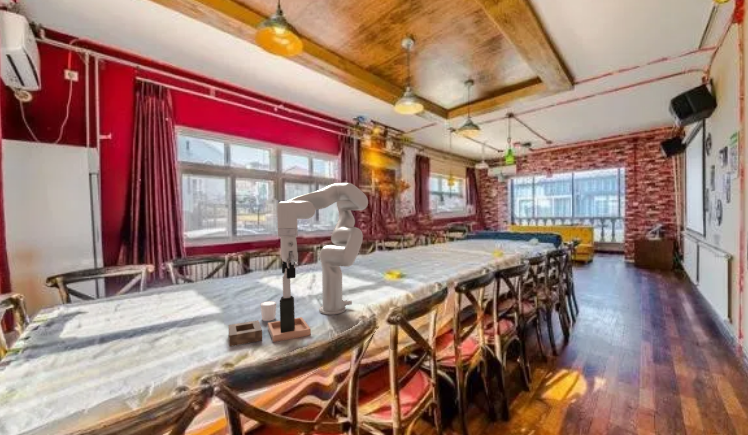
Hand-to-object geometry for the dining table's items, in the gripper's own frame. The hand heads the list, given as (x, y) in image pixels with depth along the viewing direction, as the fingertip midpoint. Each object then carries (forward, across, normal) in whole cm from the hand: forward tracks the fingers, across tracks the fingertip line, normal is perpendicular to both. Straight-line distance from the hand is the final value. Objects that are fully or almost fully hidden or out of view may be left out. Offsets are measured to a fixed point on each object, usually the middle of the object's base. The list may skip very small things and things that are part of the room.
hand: (288, 275), depth 122 cm
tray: (+23, 0, 0) cm, 23 cm away
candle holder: (+23, +2, +16) cm, 28 cm away
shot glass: (+23, +19, +5) cm, 30 cm away
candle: (+22, 0, +1) cm, 22 cm away
